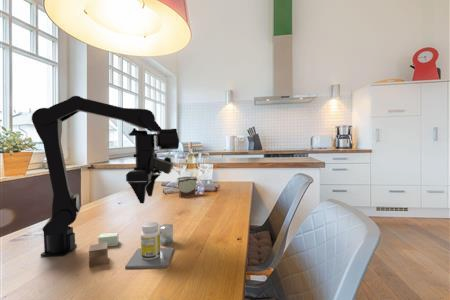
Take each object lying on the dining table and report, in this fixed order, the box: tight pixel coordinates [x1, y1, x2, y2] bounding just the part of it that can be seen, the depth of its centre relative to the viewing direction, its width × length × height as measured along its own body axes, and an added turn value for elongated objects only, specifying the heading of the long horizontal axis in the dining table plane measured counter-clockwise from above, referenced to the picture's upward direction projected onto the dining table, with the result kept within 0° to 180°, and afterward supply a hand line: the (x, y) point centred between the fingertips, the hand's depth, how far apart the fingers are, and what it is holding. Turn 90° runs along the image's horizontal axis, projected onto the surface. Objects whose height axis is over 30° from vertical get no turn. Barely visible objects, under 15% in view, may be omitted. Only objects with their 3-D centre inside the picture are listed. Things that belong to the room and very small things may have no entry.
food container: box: [176, 176, 198, 199], centre depth 140 cm, size 12×6×10 cm, turn 130°
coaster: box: [124, 246, 175, 270], centre depth 67 cm, size 10×10×1 cm
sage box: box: [97, 232, 119, 247], centre depth 76 cm, size 5×3×3 cm, turn 106°
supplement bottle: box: [140, 221, 161, 260], centre depth 66 cm, size 5×5×8 cm
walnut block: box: [88, 243, 109, 268], centre depth 65 cm, size 4×4×4 cm
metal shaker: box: [158, 223, 174, 247], centre depth 77 cm, size 4×4×5 cm
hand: (146, 199), depth 81 cm, fingers open, 9 cm apart
